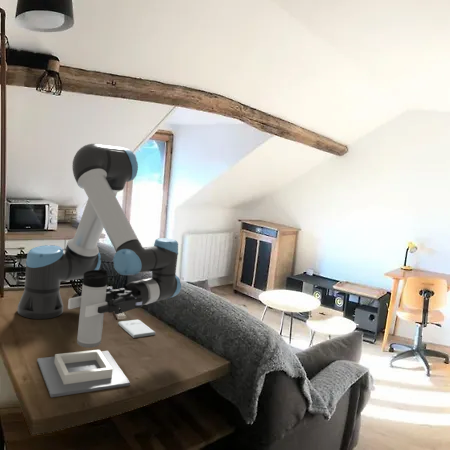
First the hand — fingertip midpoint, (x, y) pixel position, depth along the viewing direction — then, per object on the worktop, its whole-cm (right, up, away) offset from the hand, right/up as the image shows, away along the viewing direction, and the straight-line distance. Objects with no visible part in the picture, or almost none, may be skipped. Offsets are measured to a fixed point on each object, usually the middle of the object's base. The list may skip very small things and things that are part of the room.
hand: (77, 307), depth 117 cm
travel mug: (+1, -11, +6) cm, 12 cm away
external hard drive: (+7, -16, +41) cm, 45 cm away
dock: (-1, -19, +7) cm, 20 cm away
